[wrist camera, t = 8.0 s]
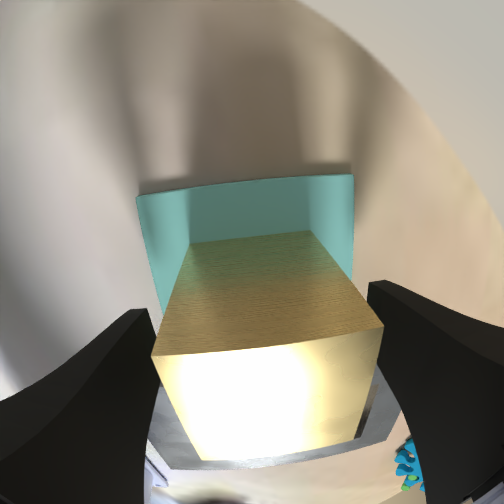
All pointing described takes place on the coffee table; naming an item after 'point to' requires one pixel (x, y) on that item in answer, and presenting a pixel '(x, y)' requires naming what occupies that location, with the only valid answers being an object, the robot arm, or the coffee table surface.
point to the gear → (413, 471)
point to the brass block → (266, 347)
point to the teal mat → (245, 218)
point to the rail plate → (186, 457)
